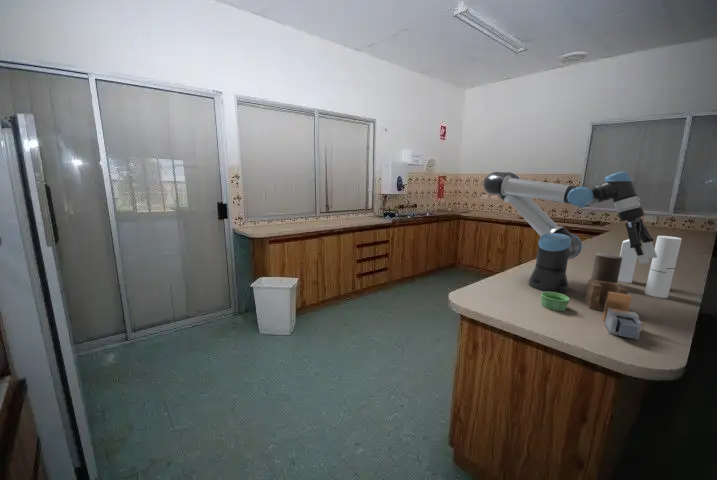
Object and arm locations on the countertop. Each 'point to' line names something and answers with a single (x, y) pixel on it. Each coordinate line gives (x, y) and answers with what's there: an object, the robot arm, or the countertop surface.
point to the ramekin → (554, 301)
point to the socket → (601, 292)
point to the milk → (627, 262)
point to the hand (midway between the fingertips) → (648, 260)
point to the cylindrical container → (663, 266)
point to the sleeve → (612, 320)
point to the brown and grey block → (624, 323)
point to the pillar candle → (606, 267)
